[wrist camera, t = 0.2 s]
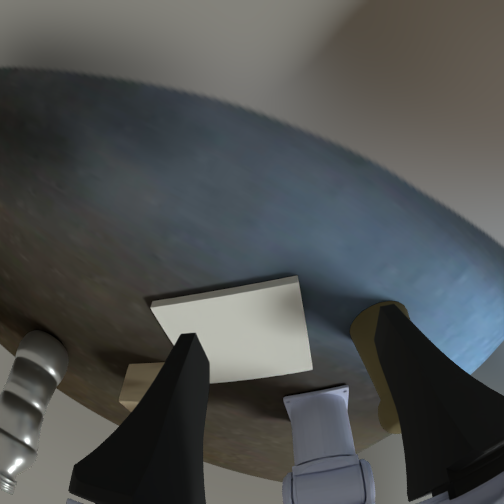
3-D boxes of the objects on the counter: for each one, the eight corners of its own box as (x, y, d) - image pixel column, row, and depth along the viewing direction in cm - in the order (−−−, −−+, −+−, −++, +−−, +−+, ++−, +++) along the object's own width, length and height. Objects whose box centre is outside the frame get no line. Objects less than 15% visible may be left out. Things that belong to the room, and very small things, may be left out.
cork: (336, 330, 26) (363, 439, 17) (388, 290, 23) (437, 400, 14) (371, 351, 28) (398, 444, 19) (416, 317, 25) (459, 410, 16)
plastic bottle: (20, 319, 26) (-43, 459, 9) (60, 326, 26) (-3, 489, 9) (43, 353, 29) (-5, 482, 13) (82, 362, 29) (38, 507, 13)
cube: (186, 385, 31) (181, 422, 27) (149, 386, 32) (142, 421, 28) (167, 361, 28) (159, 401, 24) (129, 363, 29) (118, 400, 25)
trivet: (311, 363, 28) (312, 369, 28) (201, 378, 30) (200, 384, 29) (297, 275, 22) (298, 282, 21) (152, 301, 23) (150, 307, 23)
